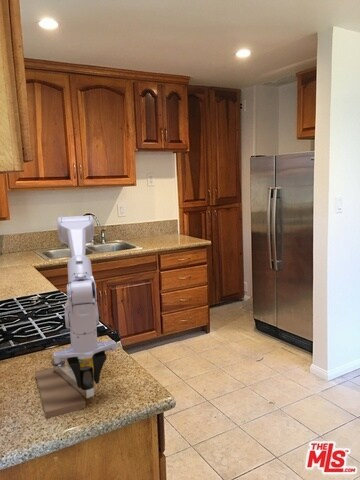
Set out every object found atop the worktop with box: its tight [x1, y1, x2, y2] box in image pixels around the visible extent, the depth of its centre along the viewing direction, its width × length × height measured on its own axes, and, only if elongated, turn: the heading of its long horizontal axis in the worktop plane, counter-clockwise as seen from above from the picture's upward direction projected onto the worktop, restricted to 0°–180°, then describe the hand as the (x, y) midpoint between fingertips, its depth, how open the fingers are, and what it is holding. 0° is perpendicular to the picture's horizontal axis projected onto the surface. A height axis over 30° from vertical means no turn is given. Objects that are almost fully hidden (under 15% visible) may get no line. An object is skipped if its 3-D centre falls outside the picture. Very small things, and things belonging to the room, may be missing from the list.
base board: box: [34, 363, 87, 419], centre depth 100 cm, size 22×9×2 cm, turn 26°
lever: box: [51, 358, 95, 399], centre depth 101 cm, size 20×4×6 cm, turn 40°
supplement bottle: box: [78, 356, 94, 379], centre depth 106 cm, size 5×5×10 cm
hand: (87, 383), depth 95 cm, fingers open, 3 cm apart
